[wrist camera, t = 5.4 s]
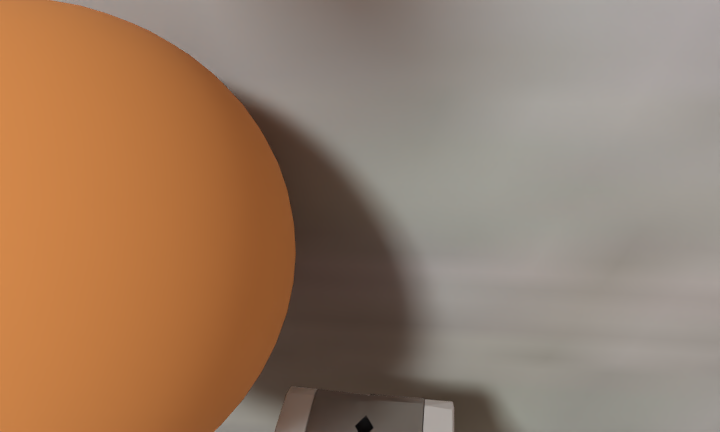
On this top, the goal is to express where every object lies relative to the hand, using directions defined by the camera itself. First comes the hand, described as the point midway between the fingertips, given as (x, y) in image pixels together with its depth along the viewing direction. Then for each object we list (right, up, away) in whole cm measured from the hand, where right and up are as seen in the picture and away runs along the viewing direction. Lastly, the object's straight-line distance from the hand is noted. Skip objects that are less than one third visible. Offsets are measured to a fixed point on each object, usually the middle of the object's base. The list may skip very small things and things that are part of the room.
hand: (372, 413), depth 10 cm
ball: (-4, +3, -3) cm, 6 cm away
